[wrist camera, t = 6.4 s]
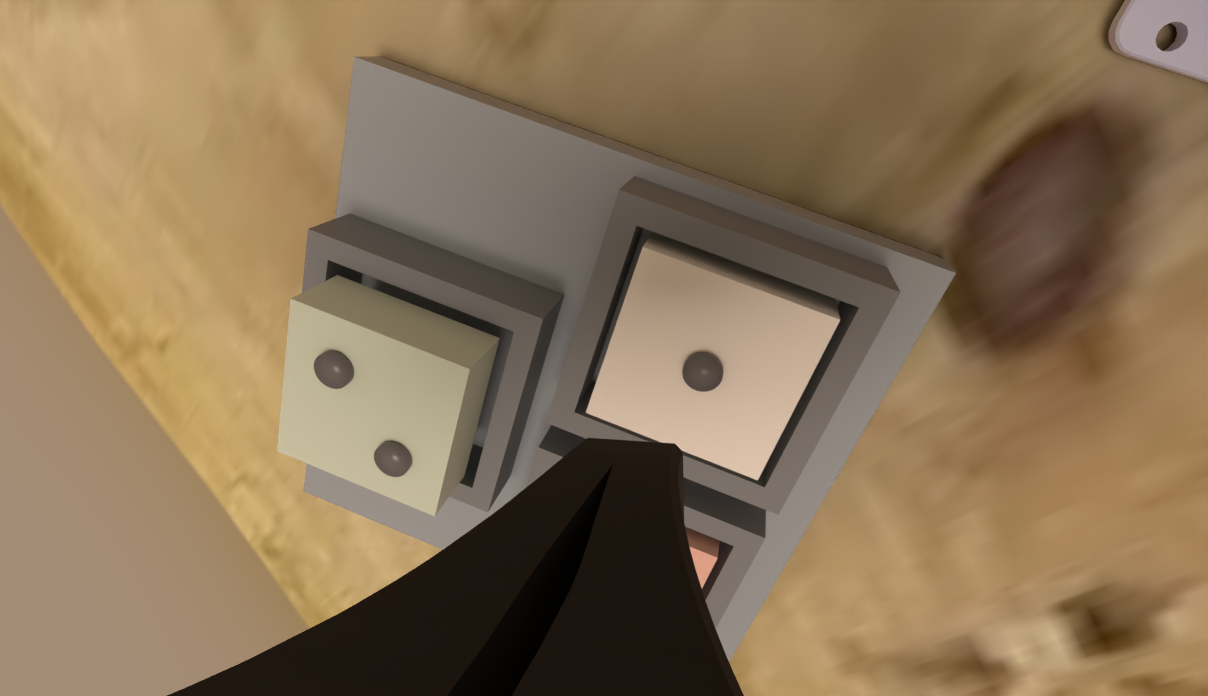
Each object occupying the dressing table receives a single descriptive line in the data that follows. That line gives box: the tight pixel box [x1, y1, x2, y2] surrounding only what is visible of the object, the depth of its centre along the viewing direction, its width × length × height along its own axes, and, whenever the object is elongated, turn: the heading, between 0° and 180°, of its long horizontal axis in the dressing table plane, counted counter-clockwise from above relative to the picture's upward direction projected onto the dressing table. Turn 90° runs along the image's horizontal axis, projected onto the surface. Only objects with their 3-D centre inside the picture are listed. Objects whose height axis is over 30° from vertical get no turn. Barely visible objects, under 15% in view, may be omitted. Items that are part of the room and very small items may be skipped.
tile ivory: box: [586, 232, 840, 480], centre depth 16 cm, size 4×4×2 cm
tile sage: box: [277, 275, 500, 516], centre depth 17 cm, size 4×4×2 cm
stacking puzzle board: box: [302, 57, 956, 661], centre depth 18 cm, size 15×14×3 cm
